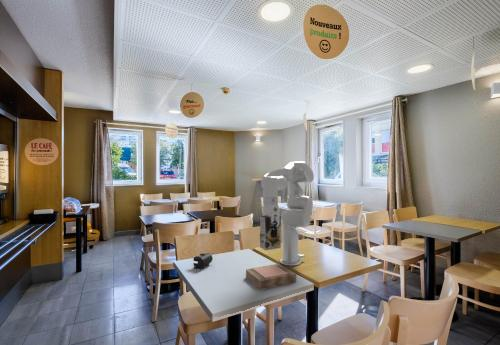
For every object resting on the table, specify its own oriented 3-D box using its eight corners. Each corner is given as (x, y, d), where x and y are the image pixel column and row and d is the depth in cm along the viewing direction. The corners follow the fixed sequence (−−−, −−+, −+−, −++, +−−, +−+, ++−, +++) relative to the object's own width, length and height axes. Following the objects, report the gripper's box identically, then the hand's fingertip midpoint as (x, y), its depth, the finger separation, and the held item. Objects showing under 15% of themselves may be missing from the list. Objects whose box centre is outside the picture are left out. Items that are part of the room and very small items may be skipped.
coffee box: (266, 250, 123) (266, 217, 123) (259, 247, 129) (259, 215, 129) (281, 248, 127) (281, 216, 127) (274, 245, 133) (274, 214, 133)
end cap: (203, 270, 140) (203, 258, 140) (192, 268, 143) (193, 256, 143) (212, 264, 149) (212, 253, 149) (202, 263, 152) (202, 251, 152)
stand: (278, 271, 139) (278, 263, 139) (296, 281, 124) (296, 273, 125) (246, 277, 130) (246, 268, 130) (260, 289, 116) (260, 280, 116)
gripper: (286, 201, 122) (286, 238, 122) (268, 199, 138) (268, 231, 137) (272, 202, 119) (272, 240, 118) (256, 199, 134) (256, 233, 134)
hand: (270, 235), depth 128 cm, fingers closed on coffee box, 6 cm apart
